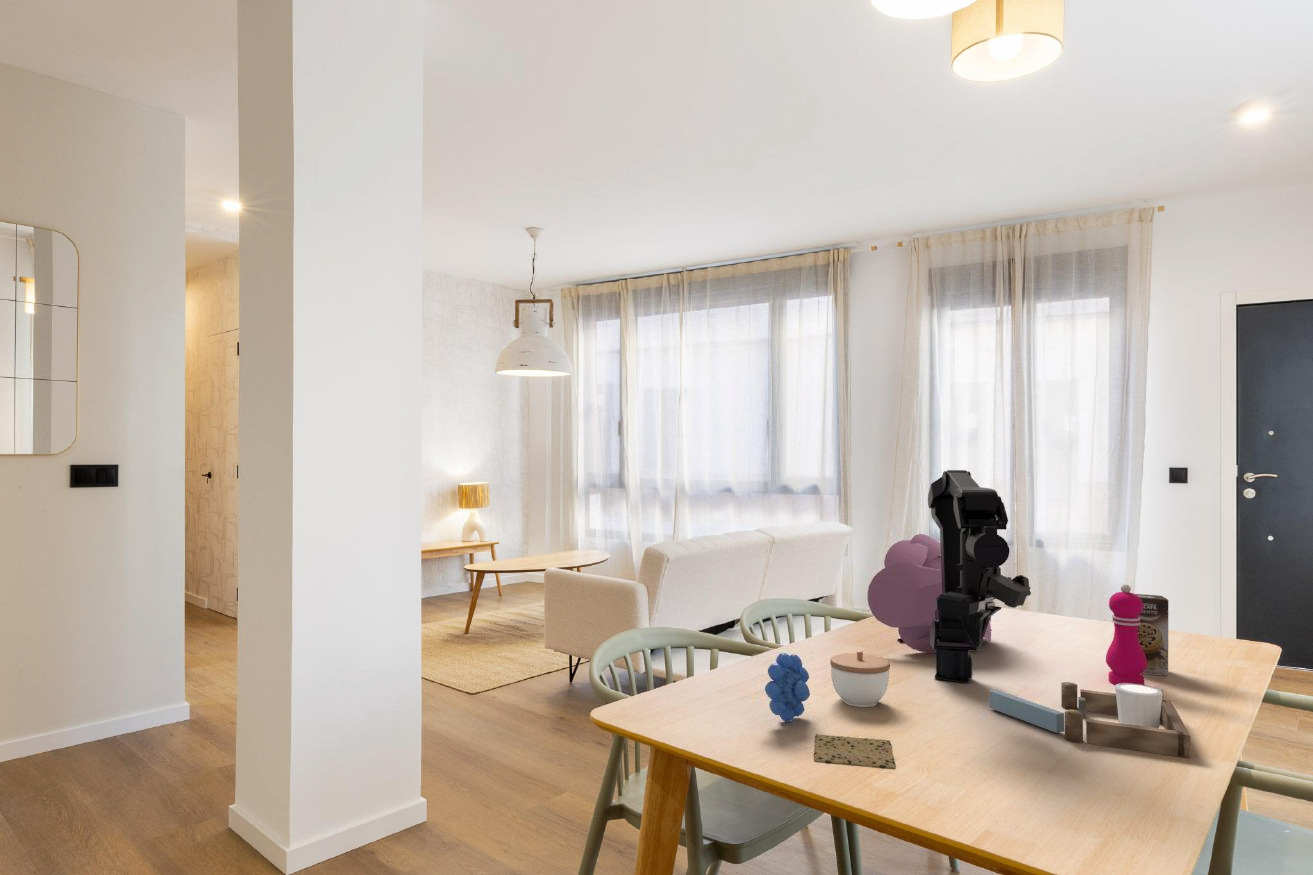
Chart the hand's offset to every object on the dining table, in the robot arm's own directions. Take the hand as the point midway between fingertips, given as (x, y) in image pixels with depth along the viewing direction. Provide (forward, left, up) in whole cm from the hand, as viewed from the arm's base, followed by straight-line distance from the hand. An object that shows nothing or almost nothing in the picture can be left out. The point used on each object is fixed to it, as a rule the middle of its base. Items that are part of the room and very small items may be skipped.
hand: (977, 646), depth 141 cm
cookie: (-16, -29, -12) cm, 35 cm away
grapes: (-28, -21, -12) cm, 37 cm away
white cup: (+25, +2, -12) cm, 28 cm away
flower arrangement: (-12, +52, -12) cm, 55 cm away
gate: (+8, -2, -11) cm, 14 cm away
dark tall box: (+30, +46, -12) cm, 56 cm away
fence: (+22, +1, -12) cm, 25 cm away
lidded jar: (-20, -4, -12) cm, 24 cm away
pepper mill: (+26, +33, -12) cm, 44 cm away
